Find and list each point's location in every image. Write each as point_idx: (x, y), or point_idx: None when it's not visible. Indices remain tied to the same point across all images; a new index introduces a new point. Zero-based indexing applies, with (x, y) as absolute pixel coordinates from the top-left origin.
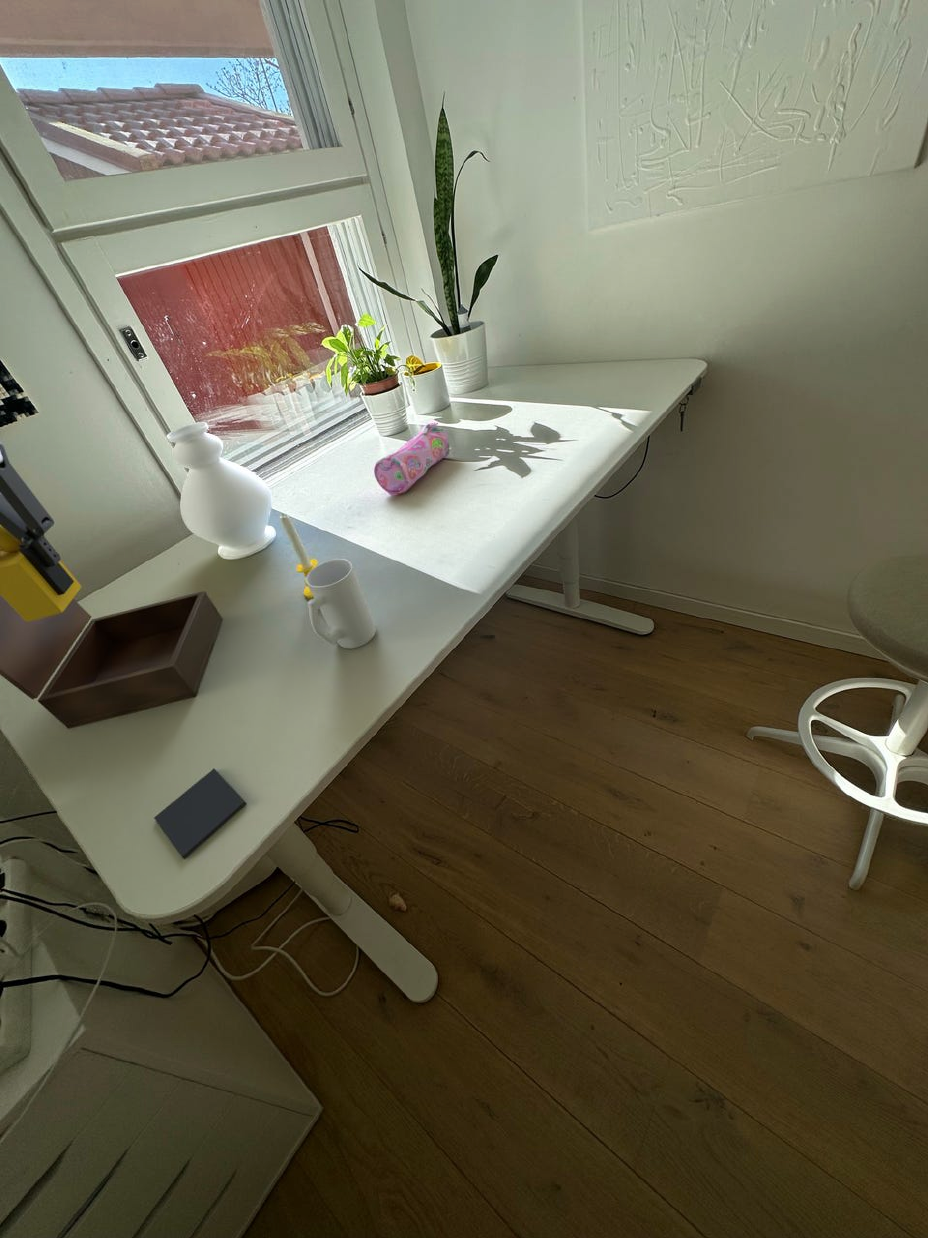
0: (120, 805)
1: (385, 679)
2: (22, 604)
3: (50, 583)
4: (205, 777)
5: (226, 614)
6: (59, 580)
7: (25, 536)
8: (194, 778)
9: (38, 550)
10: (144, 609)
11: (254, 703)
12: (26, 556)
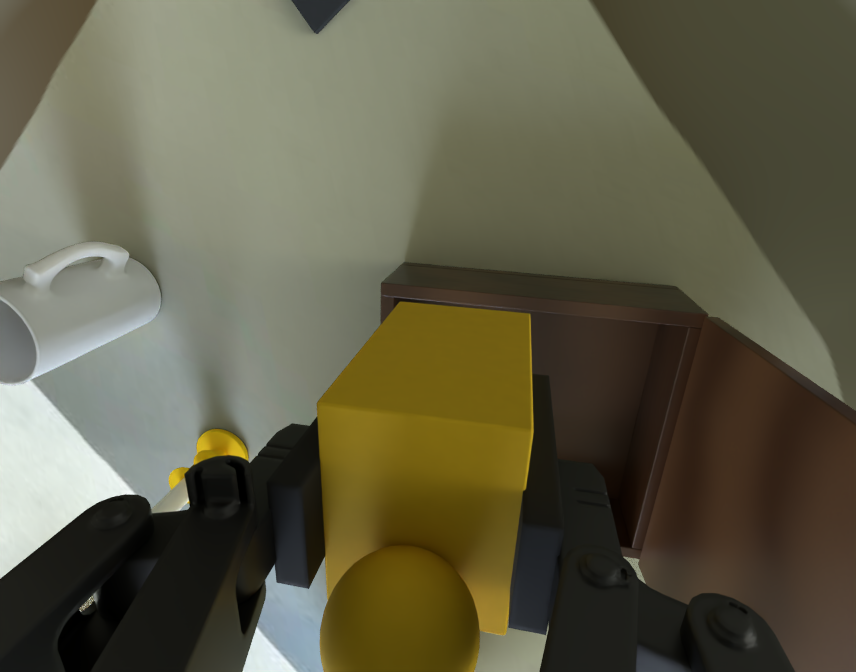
0: (495, 7)
1: (60, 152)
2: (487, 333)
3: None
4: (325, 13)
5: None
6: None
7: (194, 519)
8: (356, 29)
9: (267, 476)
10: None
11: (282, 191)
12: (312, 455)
